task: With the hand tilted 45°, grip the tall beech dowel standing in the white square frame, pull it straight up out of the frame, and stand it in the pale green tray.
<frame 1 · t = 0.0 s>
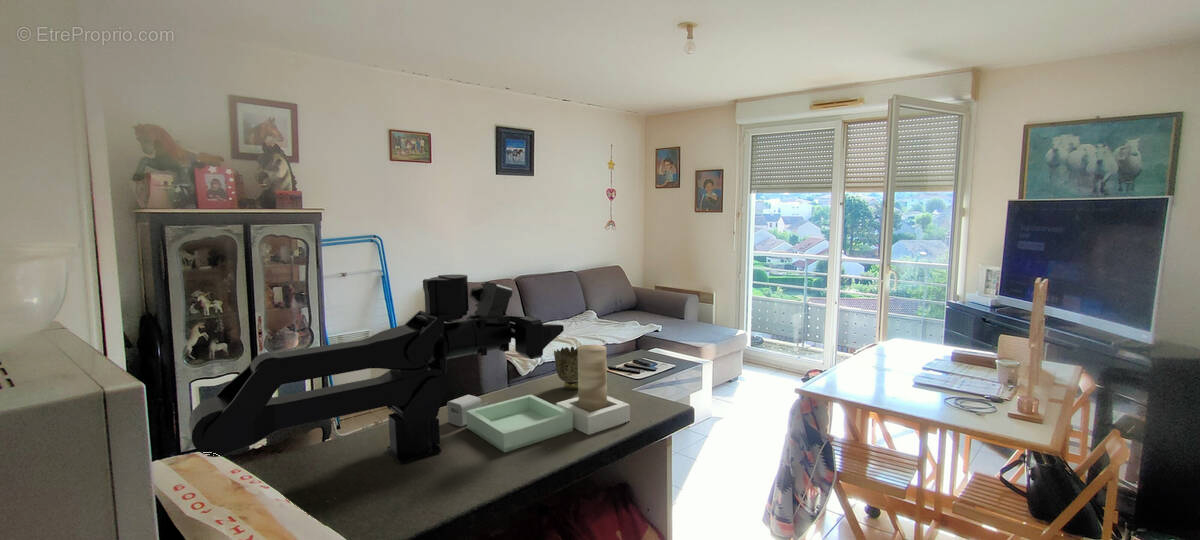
hand: (548, 323, 100), 17 cm above the breakfast bar, tool horizontal, fingers open, 9 cm apart
cup: (572, 388, 116), on the breakfast bar
beech dowel: (592, 384, 97), in the white square frame
pale green tray: (519, 429, 94), on the breakfast bar
white square frame: (593, 420, 98), on the breakfast bar
usb wall charger: (470, 420, 100), on the breakfast bar
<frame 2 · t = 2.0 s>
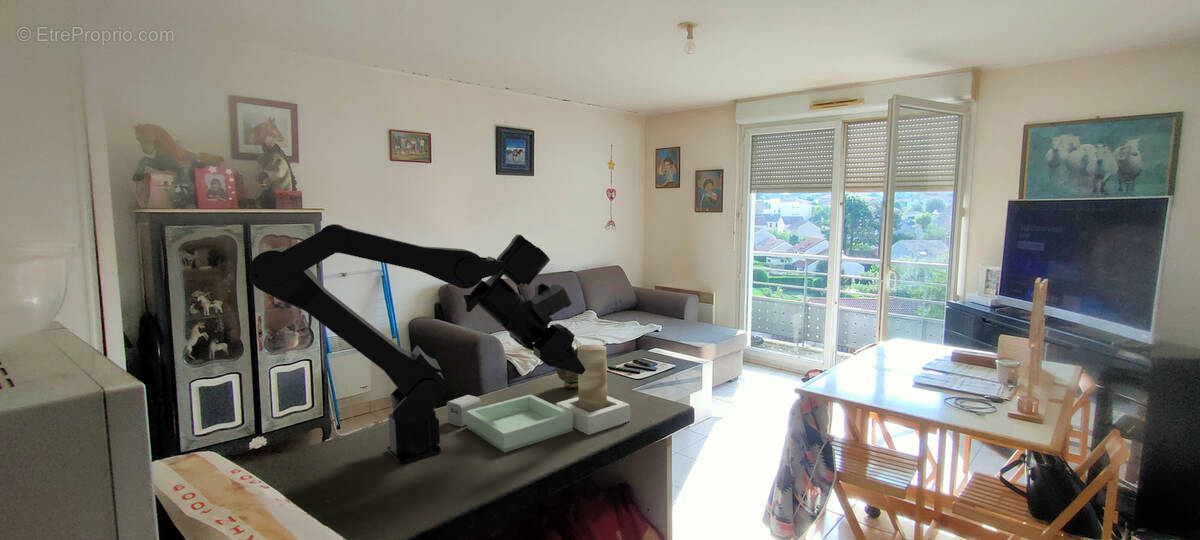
hand: (573, 365, 96), 10 cm above the breakfast bar, tool tilted 45°, fingers open, 9 cm apart
nothing on the breakfast bar moved.
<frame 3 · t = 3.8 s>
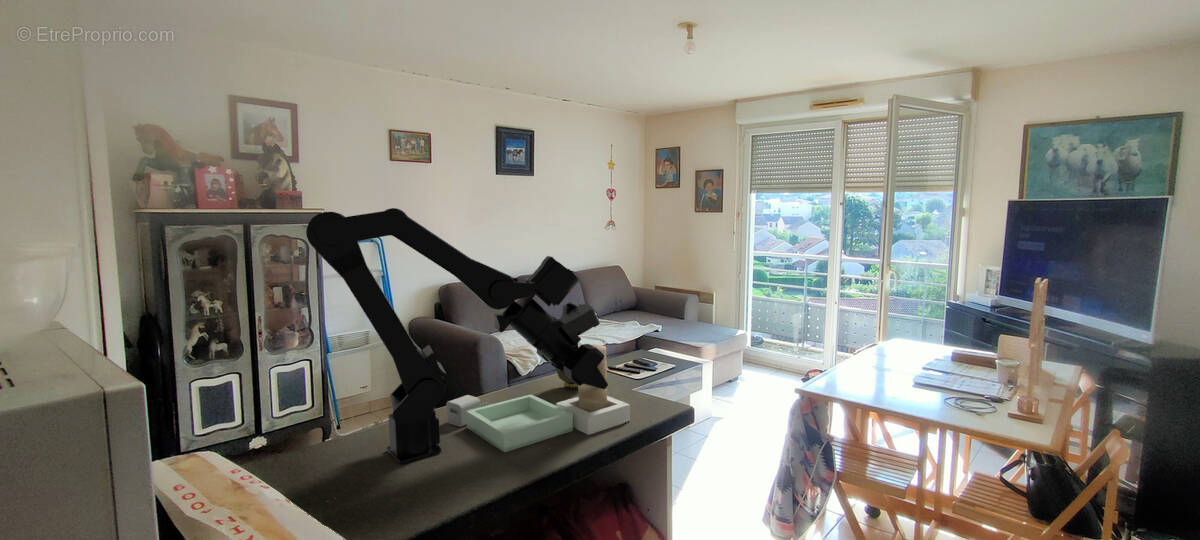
hand: (599, 382, 98), 7 cm above the breakfast bar, tool tilted 45°, fingers closed on beech dowel, 5 cm apart
beech dowel: (592, 384, 97), in the white square frame, touching gripper
everything else where it was.
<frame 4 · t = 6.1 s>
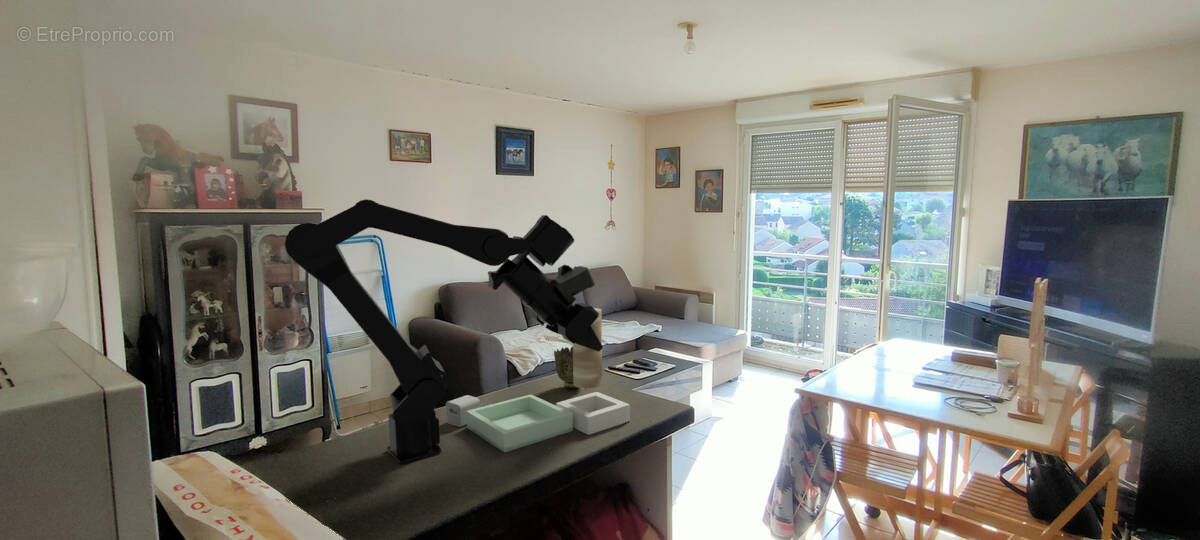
hand: (594, 345, 97), 13 cm above the breakfast bar, tool tilted 45°, fingers closed on beech dowel, 5 cm apart
beech dowel: (587, 347, 96), point 13 cm above the breakfast bar, touching gripper
everything else where it was.
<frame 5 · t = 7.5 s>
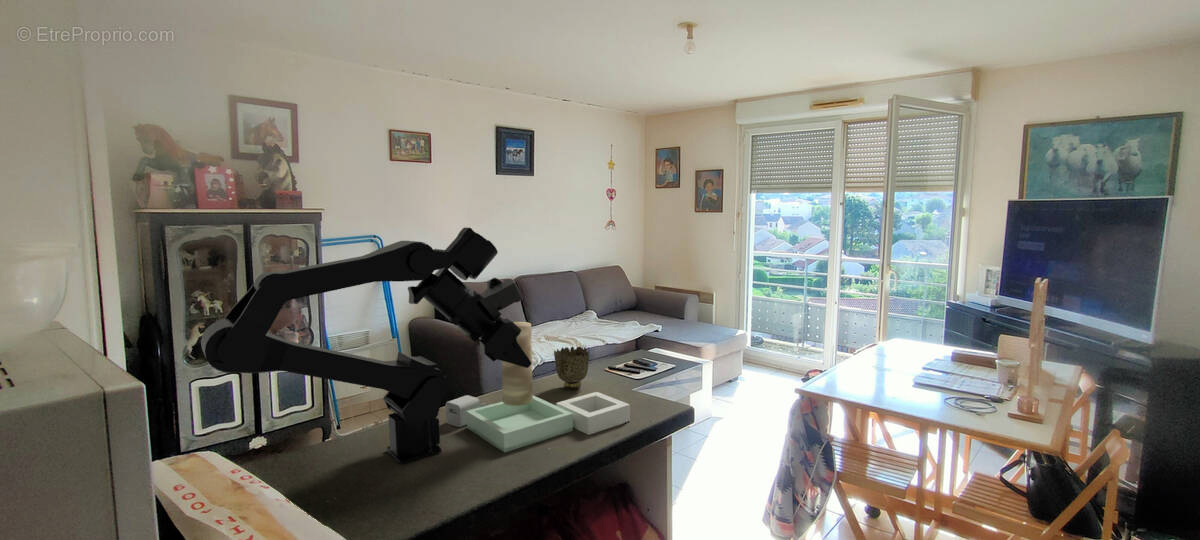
hand: (525, 361, 94), 12 cm above the breakfast bar, tool tilted 45°, fingers closed on beech dowel, 5 cm apart
beech dowel: (516, 362, 93), point 12 cm above the breakfast bar, touching gripper
everything else where it was.
when the fingers open (9 cm above the breakfast bar, at t = 8.4 s): beech dowel drops 2 cm, resting on pale green tray.
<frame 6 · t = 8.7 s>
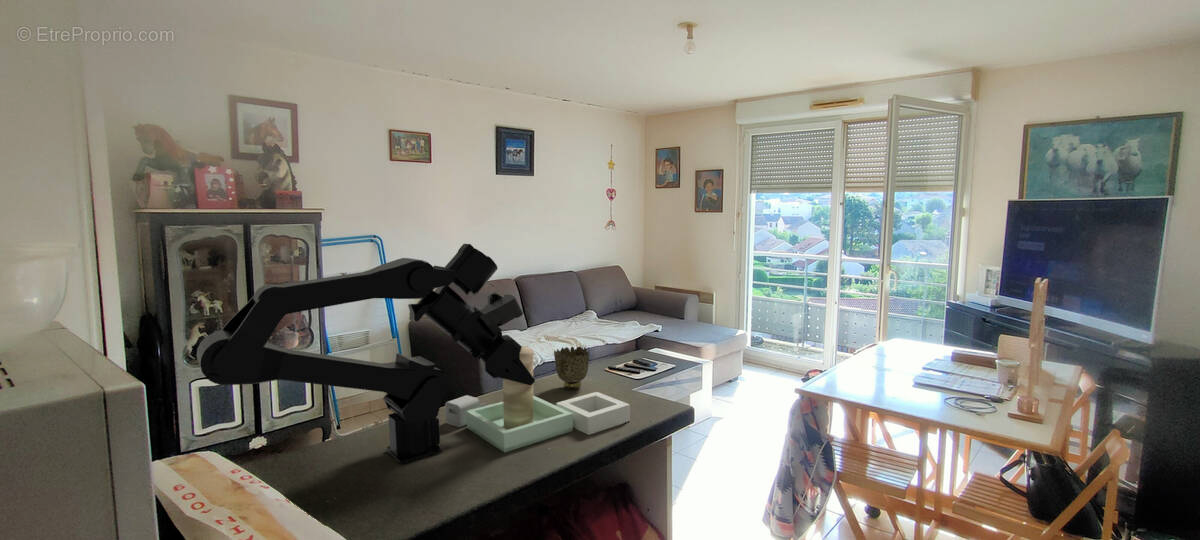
hand: (525, 376, 94), 9 cm above the breakfast bar, tool tilted 45°, fingers open, 8 cm apart
beech dowel: (518, 388, 93), in the pale green tray, point 7 cm above the breakfast bar
everything else where it was.
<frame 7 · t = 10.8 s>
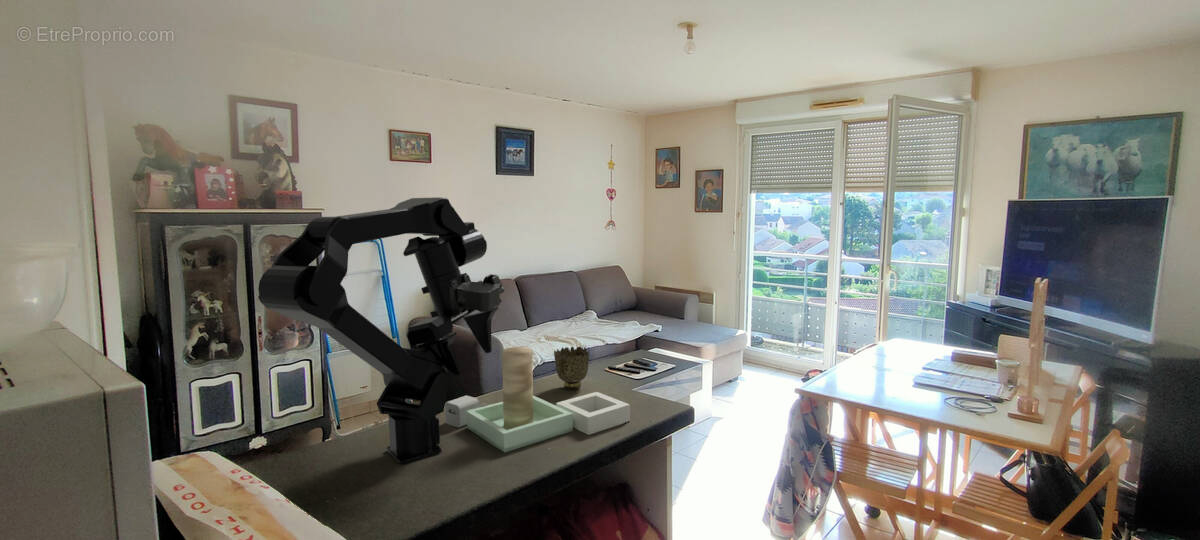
hand: (474, 363, 92), 12 cm above the breakfast bar, tool tilted 15°, fingers open, 9 cm apart
nothing on the breakfast bar moved.
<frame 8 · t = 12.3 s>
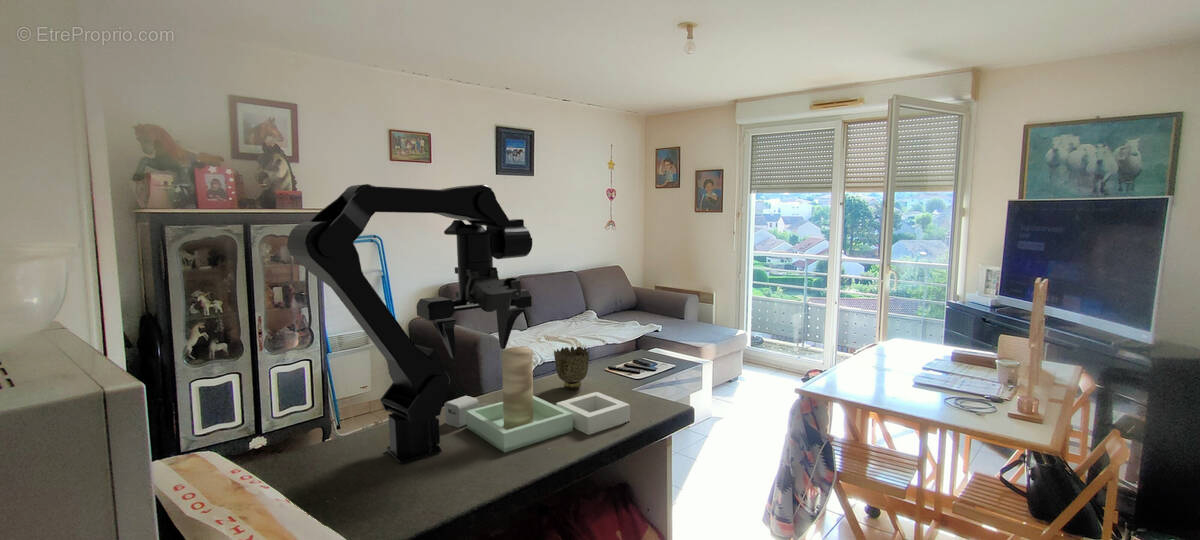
hand: (478, 353, 94), 13 cm above the breakfast bar, tool pointing down, fingers open, 9 cm apart
nothing on the breakfast bar moved.
at the end: beech dowel inside the target area on the pale green tray (0.1 cm from its centre), point 7.1 cm above the pale green tray's base; beech dowel touching pale green tray; the gripper is holding nothing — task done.
